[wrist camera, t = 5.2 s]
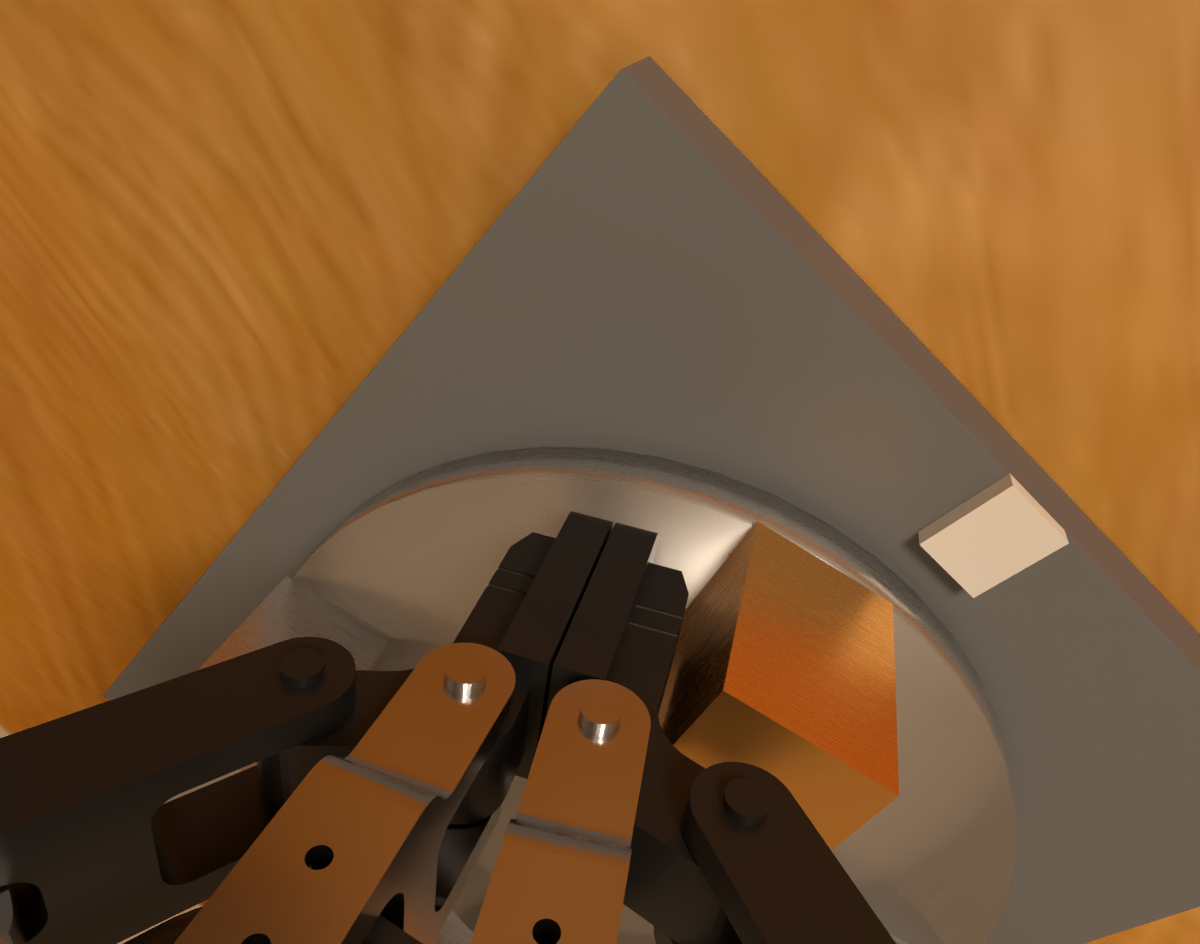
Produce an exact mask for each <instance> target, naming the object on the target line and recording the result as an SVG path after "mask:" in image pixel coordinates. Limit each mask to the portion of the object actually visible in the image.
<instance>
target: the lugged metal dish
mask: <svg viewBox="0 0 1200 944" xmlns="http://www.w3.org/2000/svg"><path fill="white" fill-rule="evenodd" d="M571 511H573V512H577V513H581V514H585V515H589V516H593V517H597V518H600V519H604V520H608V521H612V522H614V525H615V523H616V522H617V523H620V524H624V525H628V526H632V527H636V528H640V529H644V530H648V531H651V532H655V533H659V536H658V543H657V548H656V553H655V557H654V562H653V564H657V565H660V566H664V567H668V568H672V569H676V570H679V571H682V574H683V577H684V580H685V583H686V586H687V589H688V592H689V596H688V600H687V604H686V608H685V613H684V617H683V621H682V625H681V629H680V634H679V638H678V642H677V646H676V650H675V655H674V659H673V663H672V667H671V670H670V674H669V678H668V681H667V685H666V689H665V692H664V696H663V700H662V703H661V707H660V711H659V714H658V718H659V722H660V726H661V728H662V730H663V732H664V734H665V736H666V737H667V739H668V740H669V741H670V742H671V744H672V745H673V746H674V747H675V748H676V749H677V750H679V751H680V752H681V753H682V754H684V755H685V756H686V757H688V758H689V759H691V760H692V761H694V762H696V763H697V764H699V765H701V766H702V767H704V768H708V767H709V766H712V765H714V764H717V763H722V762H743V763H747V764H751V765H754V766H757V767H759V768H762V769H764V770H765V771H767V772H769V773H771V774H772V775H774V776H775V777H776V778H778V779H779V780H780V781H781V782H782V783H783V784H784V785H785V786H786V787H787V788H788V790H789V791H790V792H791V794H792V795H793V796H794V798H795V799H796V801H797V802H798V804H799V805H800V806H801V808H802V809H803V811H804V812H805V814H806V815H807V817H808V818H809V819H810V821H811V822H812V824H813V825H814V827H815V828H816V829H817V831H818V832H819V834H820V835H821V837H822V838H823V839H824V841H825V842H826V844H827V845H828V847H829V848H830V849H831V851H832V852H833V854H834V855H835V857H836V858H837V860H838V861H839V862H840V864H841V865H842V867H843V868H844V870H845V871H846V872H847V874H848V875H849V877H850V878H851V880H852V881H853V882H854V884H855V885H856V887H857V888H858V890H859V891H860V893H861V894H862V895H863V897H864V898H865V900H866V901H867V903H868V904H869V905H870V907H871V908H872V910H873V911H874V913H875V914H876V915H877V917H878V918H879V920H880V921H881V923H882V924H883V925H884V927H885V928H886V930H887V931H888V933H889V934H890V936H891V937H892V938H893V940H894V941H895V943H896V944H983V943H984V942H985V940H986V939H987V937H988V936H989V934H990V933H991V931H992V930H993V928H994V927H995V925H996V924H997V921H998V919H999V917H1000V914H1001V912H1002V909H1003V907H1004V904H1005V902H1006V899H1007V897H1008V894H1009V892H1010V890H1011V884H1012V878H1013V873H1014V867H1015V861H1016V856H1017V832H1016V809H1015V803H1014V797H1013V791H1012V786H1011V780H1010V774H1009V768H1008V762H1007V757H1006V753H1005V748H1004V744H1003V740H1002V736H1001V731H1000V727H999V723H998V719H997V717H996V714H995V712H994V709H993V707H992V705H991V702H990V700H989V698H988V695H987V693H986V691H985V688H984V686H983V684H982V681H981V679H980V677H979V675H978V674H977V672H976V670H975V669H974V667H973V666H972V664H971V663H970V661H969V659H968V658H967V656H966V655H965V653H964V651H963V650H962V648H961V647H960V645H959V643H958V642H957V640H956V639H955V637H954V636H953V634H952V633H951V632H950V631H949V630H948V628H947V627H946V626H945V625H944V624H943V623H942V621H941V620H940V619H939V618H938V617H937V616H936V614H935V613H934V612H933V611H932V610H931V609H930V607H929V606H928V605H927V604H926V603H925V602H924V600H923V599H922V598H921V597H920V596H919V595H918V594H917V593H916V592H915V591H914V590H913V589H912V588H911V587H909V586H908V585H907V584H906V583H905V582H904V581H903V580H902V579H901V578H899V577H898V576H897V575H896V574H895V573H894V572H893V571H892V570H891V569H889V568H888V567H887V566H886V565H885V564H884V563H883V562H882V561H880V560H879V559H878V558H877V557H876V556H874V555H873V554H872V553H870V552H869V551H867V550H866V549H864V548H863V547H861V546H860V545H859V544H857V543H856V542H854V541H853V540H851V539H850V538H848V537H847V536H846V535H844V534H843V533H841V532H840V531H838V530H837V529H836V528H834V527H833V526H831V525H830V524H828V523H826V522H825V521H823V520H821V519H819V518H817V517H815V516H813V515H811V514H810V513H808V512H806V511H804V510H802V509H800V508H798V507H796V506H795V505H793V504H791V503H789V502H787V501H785V500H783V499H781V498H780V497H778V496H776V495H774V494H771V493H769V492H766V491H763V490H761V489H758V488H756V487H753V486H751V485H748V484H746V483H743V482H741V481H738V480H736V479H733V478H731V477H728V476H726V475H723V474H720V473H718V472H714V471H710V470H707V469H703V468H699V467H695V466H692V465H688V464H684V463H681V462H677V461H673V460H670V459H666V458H662V457H657V456H650V455H644V454H637V453H630V452H624V451H617V450H611V449H604V448H577V447H537V448H526V449H516V450H505V451H495V452H490V453H486V454H482V455H477V456H473V457H469V458H464V459H460V460H456V461H452V462H447V463H445V464H442V465H440V466H437V467H434V468H432V469H429V470H427V471H424V472H422V473H419V474H417V475H414V476H411V477H409V478H406V479H404V480H403V481H401V482H399V483H397V484H396V485H394V486H392V487H391V488H389V489H387V490H386V491H384V492H382V493H380V494H379V495H377V496H375V497H374V498H372V499H370V500H369V501H368V502H366V503H365V504H364V505H363V506H362V507H360V508H359V509H358V510H357V511H356V512H355V513H353V514H352V515H351V516H350V517H349V518H347V519H346V520H345V521H344V522H343V523H342V524H340V525H339V526H338V527H337V529H336V530H335V531H334V532H333V533H332V534H331V535H330V536H329V537H328V538H327V539H326V540H325V541H324V542H323V544H322V545H321V546H320V547H319V548H318V549H317V550H316V551H315V552H314V553H313V554H312V555H311V556H310V557H309V559H308V560H307V561H306V562H305V564H304V565H303V566H302V567H301V568H300V570H299V571H298V572H297V573H296V575H295V576H294V577H293V578H292V579H291V578H289V577H287V576H286V577H285V578H284V579H283V580H282V581H281V582H280V583H279V584H278V586H277V587H276V588H275V589H274V590H273V591H272V592H271V593H270V594H269V595H268V596H267V597H266V598H265V599H264V600H263V601H262V603H261V604H260V605H259V606H258V607H257V608H256V609H255V610H254V611H253V612H252V613H251V614H250V615H249V616H248V617H247V618H246V619H245V621H244V622H243V623H242V624H241V625H240V626H239V627H238V628H237V629H236V630H235V631H234V632H233V633H232V634H231V635H230V636H229V638H228V639H227V640H226V641H225V642H224V643H223V644H222V645H221V646H220V647H219V648H218V649H217V650H216V651H215V652H214V653H213V655H212V656H211V657H210V658H209V659H208V660H207V661H206V662H205V663H204V664H203V665H202V666H201V667H200V668H199V669H198V670H200V669H203V668H206V667H209V666H212V665H215V664H218V663H220V662H223V661H226V660H229V659H232V658H235V657H238V656H241V655H244V654H247V653H249V652H252V651H255V650H258V649H261V648H264V647H267V646H270V645H273V644H276V643H278V642H281V641H285V640H288V639H292V638H298V637H320V638H325V639H329V640H332V641H335V642H336V643H338V644H340V645H342V646H343V647H344V648H346V649H347V650H348V651H349V652H350V654H351V655H352V657H353V659H354V661H355V665H356V670H370V671H402V670H410V669H414V668H416V666H417V665H418V664H419V662H420V661H421V660H422V659H423V658H424V657H425V656H426V655H427V654H429V653H430V652H431V651H433V650H435V649H437V648H439V647H442V646H445V645H449V644H453V642H454V640H455V639H456V637H457V635H458V634H459V632H460V630H461V629H462V627H463V625H464V624H465V622H466V620H467V618H468V617H469V615H470V613H471V612H472V610H473V608H474V607H475V605H476V603H477V602H478V600H479V598H480V597H481V595H482V593H483V592H484V590H485V588H486V587H488V585H489V582H490V580H491V578H492V577H493V575H494V573H495V572H496V570H498V567H499V565H500V563H501V561H502V560H503V558H504V556H505V555H506V553H507V551H508V550H509V548H510V546H512V545H514V544H515V543H517V542H518V541H520V540H521V539H523V538H524V537H526V536H528V535H529V534H531V533H532V532H535V533H538V534H542V535H546V536H550V537H554V538H556V537H557V535H558V534H559V532H560V530H561V528H562V526H563V524H564V522H565V520H566V518H567V516H568V515H569V513H570V512H571ZM255 765H257V762H255V763H253V764H250V765H248V766H245V767H243V768H241V769H238V770H236V771H233V772H231V773H229V774H226V775H224V776H221V777H219V778H217V779H214V780H212V781H209V782H207V783H204V784H202V785H200V786H197V787H195V788H192V789H190V790H188V791H185V792H183V793H180V794H178V795H176V796H174V797H172V798H171V799H169V800H168V801H166V802H165V803H167V802H169V801H172V800H174V799H176V798H179V797H181V796H184V795H186V794H188V793H191V792H193V791H196V790H198V789H200V788H203V787H205V786H208V785H210V784H212V783H215V782H217V781H219V780H222V779H224V778H227V777H229V776H231V775H234V774H236V773H239V772H241V771H243V770H246V769H248V768H251V767H253V766H255ZM526 782H527V779H526V778H522V777H519V776H516V775H515V776H514V778H513V781H512V783H511V785H510V788H509V790H508V792H507V795H506V797H505V799H504V801H503V803H502V804H501V812H500V817H499V820H498V822H497V824H496V826H495V828H494V830H493V832H492V834H491V836H490V838H489V840H488V841H487V843H486V845H485V847H484V849H483V851H482V853H481V855H480V857H479V859H478V860H477V862H476V864H475V866H474V868H473V870H472V872H471V874H470V876H469V878H468V879H467V881H466V883H465V885H464V887H463V889H462V891H461V893H460V895H459V897H458V898H457V900H456V902H455V904H454V906H453V908H452V910H451V912H450V914H449V916H448V917H447V919H446V921H445V923H444V925H443V927H442V929H441V932H440V934H439V937H438V939H437V942H436V944H470V943H471V940H472V936H473V933H474V930H475V927H476V924H477V920H478V917H479V914H480V911H481V908H482V905H483V901H484V898H485V895H486V892H487V889H488V885H489V882H490V879H491V876H492V873H493V869H494V866H495V863H496V860H497V857H498V853H499V850H500V847H501V844H502V841H503V838H504V835H505V832H506V829H507V826H508V824H509V822H510V820H511V819H515V817H516V814H517V811H518V808H519V805H520V802H521V798H522V795H523V792H524V789H525V785H526ZM616 944H656V942H655V937H654V926H653V925H652V924H651V923H649V922H648V921H646V920H645V919H644V918H642V917H641V916H639V915H638V914H637V913H635V912H634V911H632V910H631V909H630V908H628V907H627V906H625V905H624V904H623V907H622V912H621V918H620V924H619V930H618V936H617V942H616Z"/></svg>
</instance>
